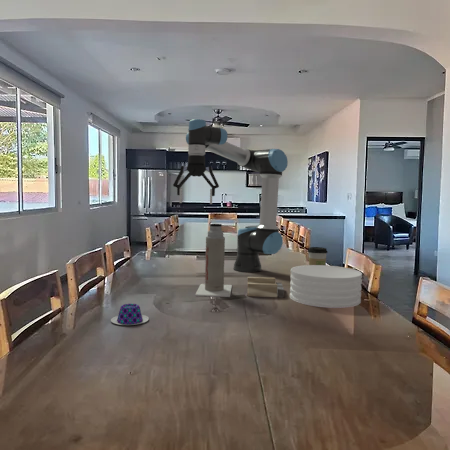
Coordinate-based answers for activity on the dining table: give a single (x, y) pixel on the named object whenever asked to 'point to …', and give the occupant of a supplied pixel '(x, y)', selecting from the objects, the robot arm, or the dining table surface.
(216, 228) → the thermos bottle
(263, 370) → the dining table surface
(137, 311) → the pudding
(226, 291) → the grey mat
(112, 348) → the dining table surface
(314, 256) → the coffee cup
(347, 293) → the plate stack
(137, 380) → the dining table surface
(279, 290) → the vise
